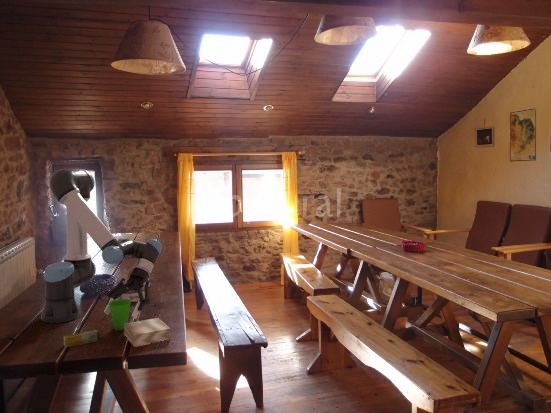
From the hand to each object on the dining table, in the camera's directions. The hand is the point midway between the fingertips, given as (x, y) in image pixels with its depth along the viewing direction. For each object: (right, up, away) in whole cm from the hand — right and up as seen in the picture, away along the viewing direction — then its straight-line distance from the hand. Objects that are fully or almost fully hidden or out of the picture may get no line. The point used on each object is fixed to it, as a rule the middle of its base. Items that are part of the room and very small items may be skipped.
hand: (119, 315), depth 190 cm
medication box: (-10, -7, -14) cm, 19 cm away
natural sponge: (-14, +1, +71) cm, 72 cm away
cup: (0, -6, +2) cm, 6 cm away
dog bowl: (-9, -2, +45) cm, 46 cm away
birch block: (+13, -7, -7) cm, 17 cm away
